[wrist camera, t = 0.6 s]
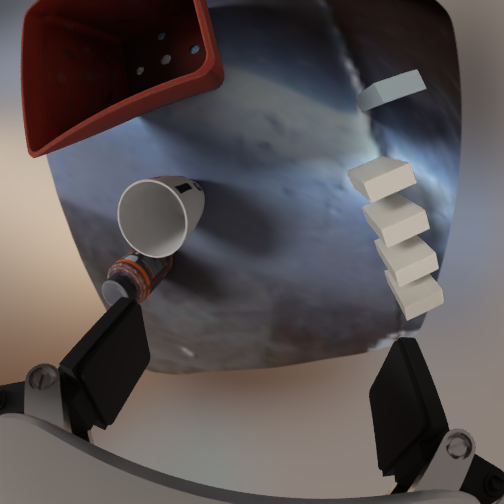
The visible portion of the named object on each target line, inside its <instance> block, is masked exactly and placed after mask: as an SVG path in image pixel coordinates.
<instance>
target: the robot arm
mask: <svg viewBox="0 0 504 504" xmlns="http://www.w3.org/2000/svg"><path fill="white" fill-rule="evenodd" d="M149 361H150V352H149V347H148V342H147V337H146V332H145V327H144V321H143V316H142V310H141V306H140V305H139V304H138V303H137V301H136V300H135V299H131V298H127V297H121V298H119V299H118V300H117V301H116V302H115V303H114V304H113V306H112V307H111V308H110V309H109V310H108V311H107V312H106V313H105V314H104V315H103V316H102V317H101V318H100V319H99V320H98V321H97V322H96V323H95V325H94V326H93V327H92V328H91V329H90V330H89V331H88V332H87V333H86V334H85V335H84V336H83V338H82V339H81V340H80V341H79V342H78V343H77V344H76V345H75V346H74V347H73V349H72V350H71V351H70V352H69V353H68V354H67V355H66V356H65V358H64V359H63V360H62V361H61V362H60V367H59V368H58V369H57V368H56V367H55V366H53V365H51V364H47V363H46V364H45V363H43V364H39V365H36V366H34V367H33V368H32V369H30V370H29V372H28V373H27V375H26V379H25V381H23V382H17V383H12V384H7V385H2V386H0V504H504V472H503V471H502V470H501V469H499V468H497V467H496V466H494V465H492V464H491V463H489V462H487V461H486V460H484V459H483V458H481V457H479V456H478V455H476V454H475V448H476V447H475V442H474V439H473V437H472V436H471V435H470V434H469V433H468V432H467V431H465V430H462V429H453V430H449V427H448V423H447V419H446V416H445V413H444V410H443V407H442V405H441V401H440V399H439V396H438V393H437V390H436V387H435V385H434V382H433V380H432V377H431V375H430V372H429V369H428V367H427V364H426V362H425V359H424V357H423V355H422V353H421V350H420V348H419V345H418V343H417V341H416V339H415V338H408V337H400V338H399V339H398V341H395V342H394V343H393V345H392V347H391V349H390V351H389V353H388V356H387V358H386V359H385V361H384V363H383V366H382V368H381V369H380V371H379V373H378V375H377V377H376V379H375V381H374V383H373V385H372V386H371V389H370V392H369V398H370V405H371V411H372V418H373V425H374V433H375V441H376V449H377V459H378V467H379V469H380V470H382V472H383V477H384V476H391V475H395V483H394V485H393V486H392V487H391V489H390V490H389V491H388V493H387V494H386V495H383V496H374V497H360V498H345V499H344V498H343V499H302V498H286V497H273V496H265V495H256V494H250V493H243V492H237V491H231V490H226V489H221V488H216V487H212V486H207V485H203V484H199V483H195V482H191V481H187V480H184V479H181V478H177V477H174V476H171V475H168V474H164V473H161V472H158V471H155V470H153V469H150V468H147V467H144V466H142V465H139V464H136V463H134V462H131V461H129V460H126V459H124V458H122V457H119V456H117V455H115V454H113V453H110V452H108V451H106V450H104V449H101V448H99V447H97V446H95V445H94V442H93V438H92V433H91V428H92V427H93V425H95V426H97V427H99V428H102V429H104V430H105V429H106V428H107V426H108V425H111V424H112V423H113V422H114V421H115V419H116V417H117V415H118V413H119V412H120V410H121V409H122V407H123V405H124V403H125V402H126V400H127V398H128V397H129V395H130V393H131V392H132V390H133V388H134V386H135V385H136V383H137V382H138V380H139V378H140V377H141V375H142V373H143V372H144V370H145V369H146V367H147V365H148V364H149Z"/></svg>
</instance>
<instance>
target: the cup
mask: <svg viewBox="0 0 504 504" xmlns="http://www.w3.org/2000/svg"><path fill="white" fill-rule="evenodd" d="M204 202H205V196H204V192H203V190H202V188H201V187H200V185H199V184H198V183H196V182H195V181H193V180H191V179H189V178H186V177H183V176H159V177H154V178H150V179H145V180H141V181H137V182H135V183H133V184H132V185H130V186H129V187H128V188H127V189H126V190H125V191H124V193H123V194H122V196H121V198H120V201H119V205H118V223H119V226H120V229H121V232H122V234H123V236H124V238H125V239H126V241H127V242H128V243H129V244H130V245H131V246H132V247H133V248H134V249H135V250H136V251H138V252H139V253H141V254H143V255H146V256H149V257H154V258H161V257H166V256H169V255H171V254H173V253H174V252H175V251H177V250H178V249H179V248H180V246H181V245H182V244H183V243H184V241H185V240H186V239H187V238H188V237H189V235H190V234H191V233H192V232H193V230H194V229H195V227H196V225H197V223H198V221H199V219H200V217H201V215H202V213H203V210H204Z"/></svg>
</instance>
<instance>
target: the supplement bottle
mask: <svg viewBox="0 0 504 504" xmlns="http://www.w3.org/2000/svg"><path fill="white" fill-rule="evenodd" d="M172 264H173V258H172V255H169V256H166V257H161V258H154V257H149V256H146V255H143V254H141V253H139V252H138V251H136V250H135V249H132V250H131V251H130V252H128V253H127V254H126V255H125V256H123V257H122V258H121V259H119V260H118V261H117V262H116V263H114V264H113V265H112V266H111V267H110V269H109V272H108V279H107V280H106V281H105V282H104V283H103V286H102V293H103V296H104V298H105V300H106V301H107V302H108V303H109V304H110V305H111V306H113V304H114V303H115V302H116V301H117V300H118V299H119V298H121V297H127V298H131V299H135V300H136V301H137V303H138V304H139V303H141V302H143V301H144V300H145V299H146V298H147V296H149V294H150V293H151V292H152V291H153V290H154V289H155V288H156V286H157V285H158V284H159V283H160V282H161V281H162V280H163V279H164V277H165V276H166V275H167V274H168V273H169V271H170V270H171V268H172Z"/></svg>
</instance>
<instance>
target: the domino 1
mask: <svg viewBox="0 0 504 504" xmlns="http://www.w3.org/2000/svg"><path fill="white" fill-rule="evenodd" d="M424 89H427V88H426V86H425V84H424V82H423V80H422V78H421V76H420V74H419V72H418V70H417V69H416V70H413V71H410V72H406V73H403V74H400V75H397V76H394V77H391V78H388V79H385V80H382V81H379V82H376V83H374V84H372V85H371V86H369V87H368V88H367V89H365V90H364V91H362V92H361V93H360V94H358V95H357V96H356V97H355V99H356V101H357V103H358V105H359V107H360V109H361V111H362V112H364V111H367V110H369V109H372V108H374V107H377V106H380V105H382V104H385V103H388V102H390V101H393V100H396V99H399V98H401V97H404V96H407V95H410V94H412V93H415V92H418V91H421V90H424Z"/></svg>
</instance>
